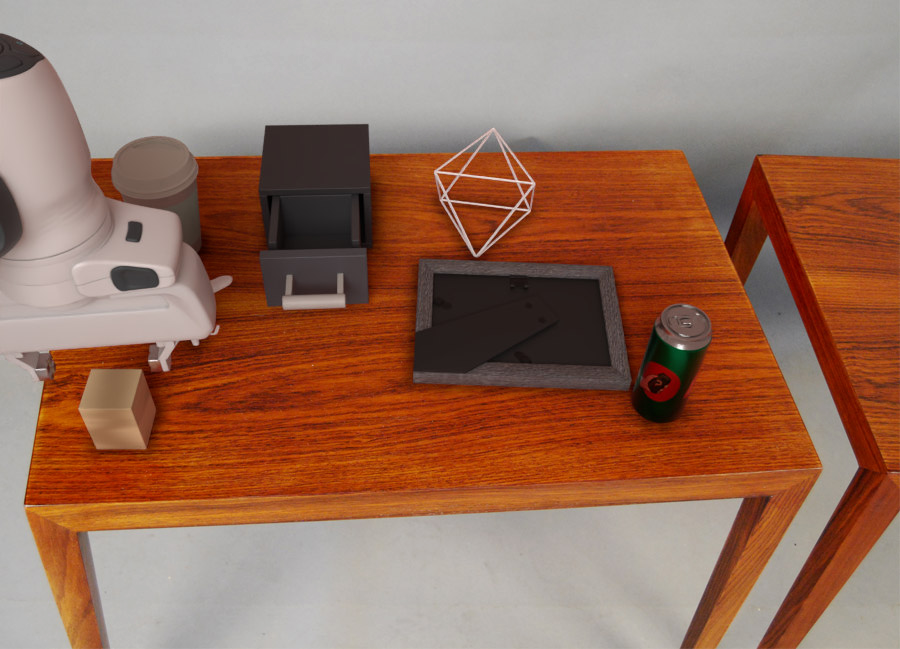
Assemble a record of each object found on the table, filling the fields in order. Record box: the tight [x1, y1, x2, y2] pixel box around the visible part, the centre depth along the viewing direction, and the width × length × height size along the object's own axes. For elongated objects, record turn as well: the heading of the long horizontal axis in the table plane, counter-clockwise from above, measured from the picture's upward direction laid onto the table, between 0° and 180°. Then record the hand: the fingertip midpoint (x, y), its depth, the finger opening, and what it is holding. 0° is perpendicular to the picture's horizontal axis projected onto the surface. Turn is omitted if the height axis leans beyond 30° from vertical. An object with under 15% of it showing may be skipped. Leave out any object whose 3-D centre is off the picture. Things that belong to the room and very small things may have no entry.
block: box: [77, 368, 157, 450], centre depth 76 cm, size 4×4×6 cm
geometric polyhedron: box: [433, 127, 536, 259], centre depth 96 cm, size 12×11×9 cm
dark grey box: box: [258, 123, 374, 250], centre depth 96 cm, size 12×12×9 cm
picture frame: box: [412, 258, 632, 392], centre depth 88 cm, size 16×2×21 cm
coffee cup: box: [110, 135, 203, 254], centre depth 90 cm, size 8×8×12 cm
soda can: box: [630, 303, 714, 424], centre depth 78 cm, size 5×5×12 cm
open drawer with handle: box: [258, 194, 370, 311], centre depth 88 cm, size 15×10×7 cm
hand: (104, 370), depth 72 cm, fingers open, 8 cm apart
